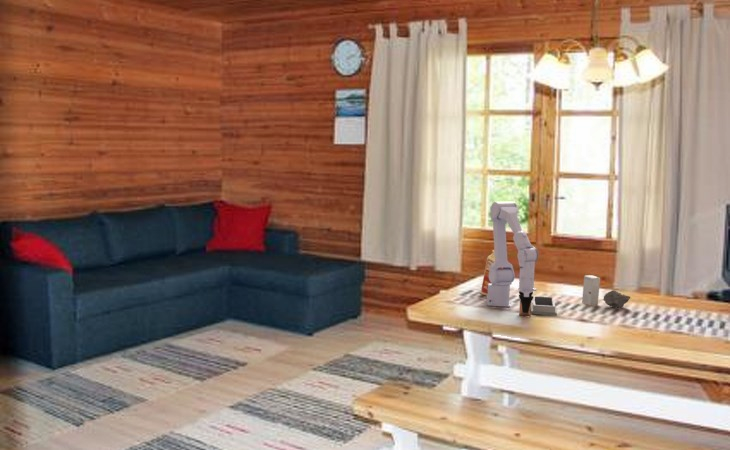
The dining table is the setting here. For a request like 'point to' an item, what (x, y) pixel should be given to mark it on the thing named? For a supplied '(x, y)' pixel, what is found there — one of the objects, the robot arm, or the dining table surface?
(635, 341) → the dining table surface
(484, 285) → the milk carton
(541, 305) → the grey green open box
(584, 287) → the skincare box
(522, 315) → the spout can
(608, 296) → the fossil
